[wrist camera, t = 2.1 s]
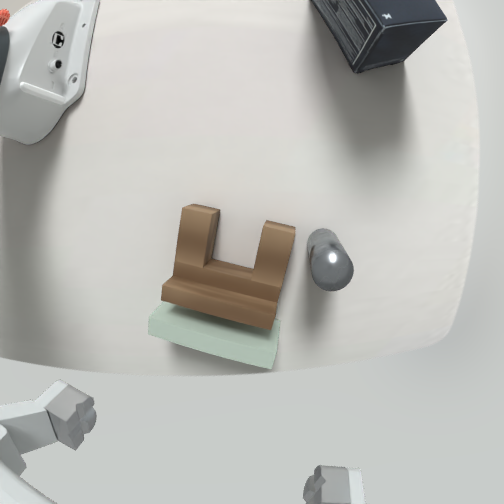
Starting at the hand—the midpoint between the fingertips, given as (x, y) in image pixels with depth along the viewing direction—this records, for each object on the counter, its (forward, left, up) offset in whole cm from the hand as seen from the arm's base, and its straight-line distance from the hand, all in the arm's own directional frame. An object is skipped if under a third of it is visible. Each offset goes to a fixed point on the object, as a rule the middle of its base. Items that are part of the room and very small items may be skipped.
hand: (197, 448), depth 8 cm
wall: (+7, -3, -22) cm, 23 cm away
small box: (-26, +4, -22) cm, 34 cm away
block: (0, -3, -22) cm, 22 cm away
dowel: (-3, +5, -22) cm, 23 cm away
